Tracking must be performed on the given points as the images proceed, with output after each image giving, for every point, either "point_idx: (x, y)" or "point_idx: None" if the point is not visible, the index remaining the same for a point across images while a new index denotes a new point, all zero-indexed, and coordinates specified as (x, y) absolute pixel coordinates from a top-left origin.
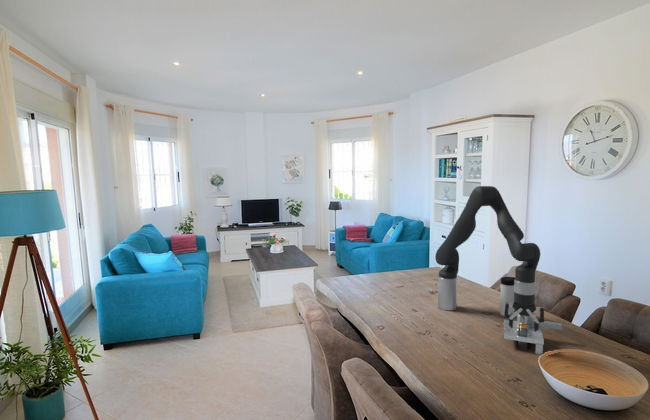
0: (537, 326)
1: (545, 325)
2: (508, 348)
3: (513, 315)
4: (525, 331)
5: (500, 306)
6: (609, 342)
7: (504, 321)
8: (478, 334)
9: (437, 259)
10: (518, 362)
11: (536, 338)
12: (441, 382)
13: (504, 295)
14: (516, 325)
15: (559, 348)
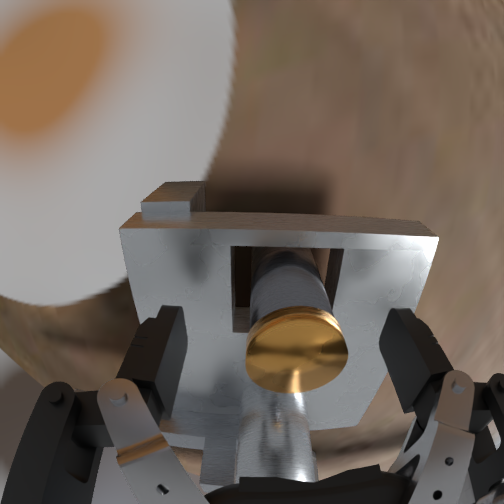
0: (138, 351)
1: None
2: (365, 197)
3: (453, 427)
4: (272, 292)
5: (318, 479)
6: (19, 362)
7: (362, 411)
8: (458, 306)
9: None
10: (323, 23)
11: (175, 240)
12: None
13: None
14: (306, 397)
15: (98, 294)
